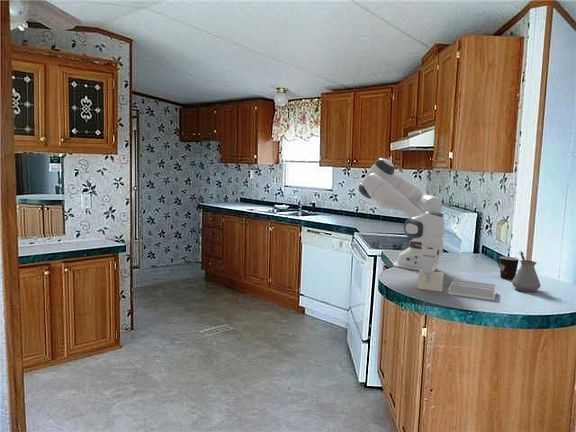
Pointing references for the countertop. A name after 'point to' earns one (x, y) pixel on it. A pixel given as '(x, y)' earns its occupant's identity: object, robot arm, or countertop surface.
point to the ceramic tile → (435, 282)
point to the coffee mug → (508, 267)
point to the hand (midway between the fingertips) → (429, 280)
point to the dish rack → (472, 289)
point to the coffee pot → (526, 276)
